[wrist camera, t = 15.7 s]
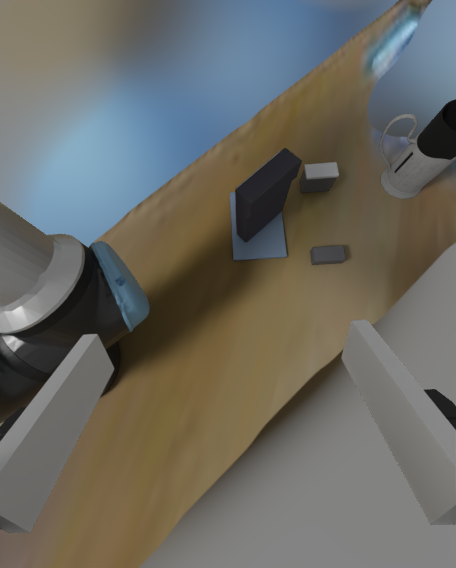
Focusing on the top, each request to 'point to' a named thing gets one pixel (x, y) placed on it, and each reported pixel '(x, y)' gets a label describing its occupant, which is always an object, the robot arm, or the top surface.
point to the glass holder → (421, 154)
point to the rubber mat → (259, 239)
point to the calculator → (264, 193)
